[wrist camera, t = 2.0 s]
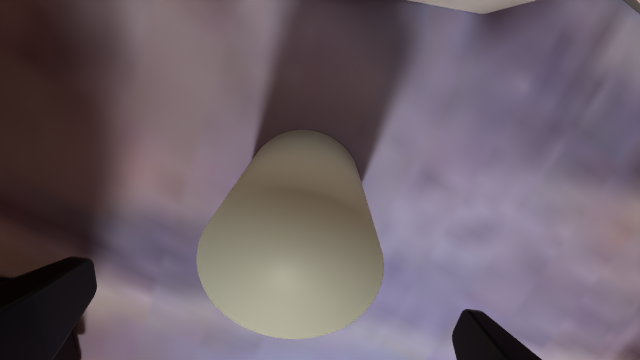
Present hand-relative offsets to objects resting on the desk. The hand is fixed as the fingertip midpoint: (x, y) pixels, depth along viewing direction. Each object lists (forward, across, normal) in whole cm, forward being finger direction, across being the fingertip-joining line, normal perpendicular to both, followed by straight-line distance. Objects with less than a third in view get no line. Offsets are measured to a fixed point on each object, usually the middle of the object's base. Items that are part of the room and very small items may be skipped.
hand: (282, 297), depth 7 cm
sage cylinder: (+7, 0, 0) cm, 7 cm away
